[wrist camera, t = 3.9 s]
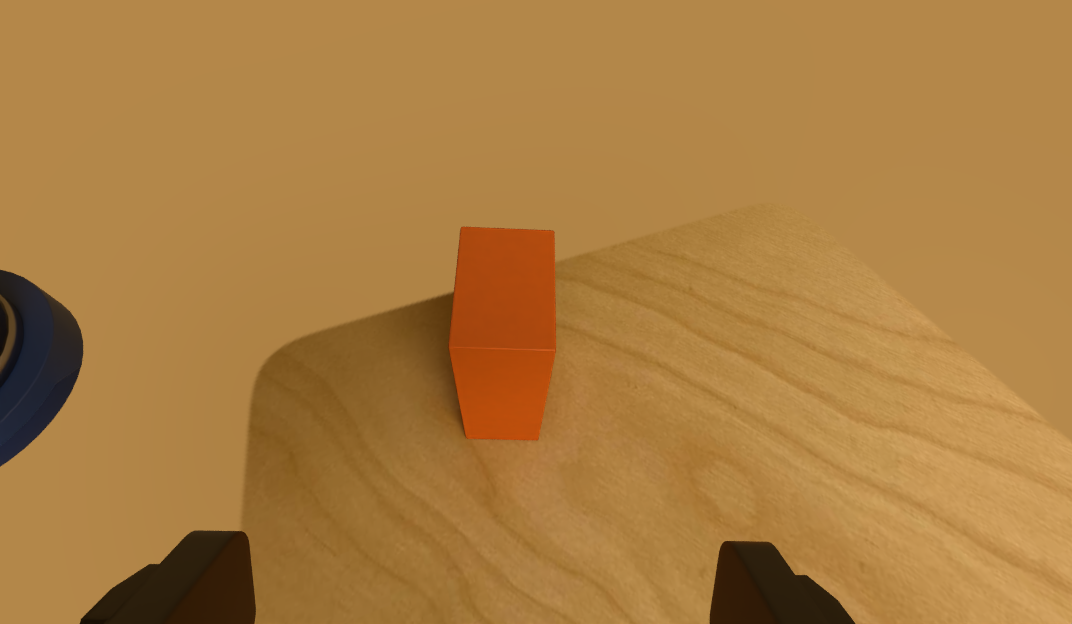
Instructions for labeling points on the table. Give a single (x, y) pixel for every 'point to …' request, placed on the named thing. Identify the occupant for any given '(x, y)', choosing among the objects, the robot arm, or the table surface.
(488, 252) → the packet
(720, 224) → the table surface
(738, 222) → the table surface
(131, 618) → the robot arm
